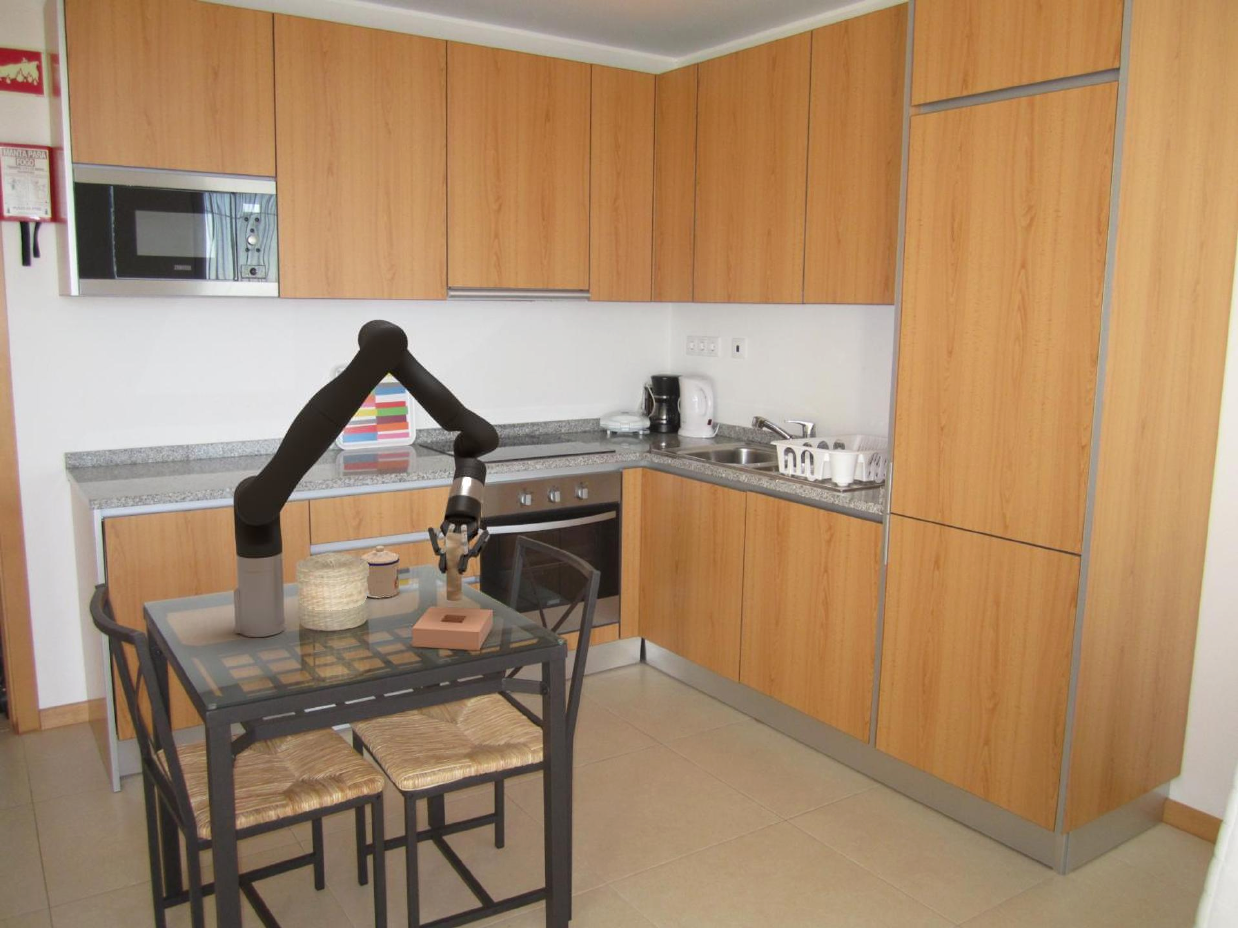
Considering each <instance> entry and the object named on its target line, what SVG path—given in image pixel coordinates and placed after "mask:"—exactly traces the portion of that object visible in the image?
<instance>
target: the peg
mask: <svg viewBox="0 0 1238 928" xmlns="http://www.w3.org/2000/svg"><path fill="white" fill-rule="evenodd" d="M461 555H462V536H461V534H459V533H449V534H446V573H445V575H446V577H445V578H446V581H445V582H446V591H445V592H446V593H445V595H446V600H447V601H451V602H458V601H461V600H462V598H463V597H462V596H463V595H462V593H463V592H462V591H463V589H462V587H463V585H462V584H463V582H462V579H463V578H462V576H463V575H459V572H458V567H459V562H460V556H461Z"/></svg>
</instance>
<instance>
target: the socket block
mask: <svg viewBox="0 0 1238 928" xmlns="http://www.w3.org/2000/svg"><path fill="white" fill-rule="evenodd" d="M493 613H494V610H493V609H481V608H480V609H479V608H466V607H465V608H461V607H448V606H446V607H445V606H429V607H428V609H427V610H426V611H425V612H424V613H423V615H422V616H421V617H420V618H419V619H418V621H417V622H416V623H415V625H414V626H413V627H412V628H411V629H412V631H411V632H412V636H411V637H412V647H414V648H415V647H417V648H432V649H434V648H435V649H448V650H449V649H450V650H451V649H452V650H464V651H465V650H468V651H480V649H481V647H482V646H483V644H484V643H485V640H486V639H487V638H488V636H489V634H490V633H491V631H492V629H493V623H494V622H493V618H494V617H493V615H494V614H493Z"/></svg>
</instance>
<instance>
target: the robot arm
mask: <svg viewBox="0 0 1238 928" xmlns="http://www.w3.org/2000/svg"><path fill="white" fill-rule="evenodd" d="M408 339H409V338H408V336H407V334H406V332H405V331H404V329H403V328H401V327H400V325H399V326H398V325H397V324H395V323H393V322H390V321H388V320H384V319H372V320H370V321H368V322H366V323H365V324H363V325H362V327H361V328H360V329H359V332H358V336H357V344H358V347H359V349H358V351H357V352H356V354H355V355H354V356H353V358H352V359H351V361H350V363H349V364H348V365H347V366H346V367H345V368H344V369H343V371H341V372H340V373H339V374H338V375H337V376H336V377H334V378H333V379H331V380H330V381H329V382H327V384H325V385H324V386H322V387H321V388H320V389H319V390H318V391H316V393H314V395H313V396H312V397H311V398H310V399H309V400H308V401H307V402H306V404H305V405H304V406H303V407H302V409H301V410H299V412H298V414H297V415H296V417H295V418H294V419H293V421H292V422H291V424H290V426H289V428H288V430H287V431H286V433H285V435H284V437H283V438H282V441H281V442H280V445H279V446H278V449H277V450H276V452H275V453H274V455H273V456H272V458H271V459H270V461H269V462H268V463H267V464H266V465H265V467H264V468H262V470H260V472H259V473H258V474H257V475H251V476H248V477H246V478H244V479H243V480H241V481H240V482H239V483H237V486H236V487H235V490H234V492H233V500H232V501H233V521H234V522H233V523H234V539H235V540H234V541H235V553H236V555H235V556H236V574H237V578H236V579H237V587H236V588H235V589H234V590H233V605H234V630H235V634H240V635H242V636H244V637H250V638H262V637H264V638H265V637H270V636H274V635H277V634H280V633H282V632H284V630H285V628H286V627H285V626H286V625H285V622H286V621H285V620H286V619H285V597H284V596H285V594H284V593H285V589H284V565H283V564H284V562H283V559H284V558H283V538H282V537H283V536H282V529H281V528H282V527H281V512H282V510H283V508H284V507H285V505H286V504H287V502H288V500H289V498H290V497H291V495H292V493H294V491H295V490H296V487H298V484H299V483H300V482H301V480H302V479H303V478H304V477H305V475H306V474H307V473H308V472H309V471H310V470H311V469H312V468H313V467H314V466H315V464H316V463H317V462H318V461H319V460H320V459H321V458H322V456H323V455H324V454H325V452H327V450H328V449H329V448H330V447H331V446H332V445H333V444H334V443H335V441H336V440H337V439H338V438H339V436H340V435H341V434H342V432H343V431H344V429H346V427H347V425H348V424H349V423H350V421H351V420H352V419H353V418H354V417H355V415H356V413H358V412H359V410H360V409H361V407H362V406H363V404H364V403H365V401H366V400H367V399H368V397H369V396H370V395H371V393H372V392H373V390H374V389H375V388H377V386H378V385H379V384H380V383H381V382H382V381H383V380H384V379H385V378H386V377H387V376H388V375H391V377H393V378H394V379H395V380H396V381H397V382H399V384H401V386H403V388H404V389H406V391H407V392H408V393H409V394H410V395H411V396H412V397H413V399H414V400H415V401H416V402H417V403H418V404H419V406H421V408H423V409H424V411H426V413H427V414H428V415H429V416H430V418H432V419H433V420H434V421H435V423H437V425H439V427H440V428H441V429H443V431H446V432H450V433H451V432H452V433H453V432H458V434H457V435H456V436H455V439H454V440H453V444H452V445H453V446H452V447H453V457H454V467H455V468H454V469H455V470H454V474H453V479H452V482H451V483H452V484H451V487H450V489H449V492H448V496H447V497H448V498H447V501H446V502H447V503H446V508H445V512H444V518H443V521H442V522H441V524H440V526H439V527H435V528H434V527H431V526H430V527H428V528H427V532H428V535H429V540H430V544H431V546H432V550H433V552H434V554H435V556H437V557H439V560H438V564H437V565H438V569H439V571H440V573H441V574H445V575H446V534H449V533H459V534H461V536H462V555H461V556H460V562H459V567H458V572H459V575H462V576H463V575H464V573H466V572H467V569H468V565H469V560H470V559H472V558H473V559H474V558H475V559H476V558H478V557H479V556H480V554H481V552H482V551H483V550H484V548H485V547H486V545H487V544H488V542H489V541H490V539H491V537H490V532H489V530H487V529H484V530H483V529H481V528H480V526H479V524H480V518H481V513H482V508H483V507H482V506H483V504H484V494H485V493H484V492H485V491H484V490H485V489H484V488H485V484H486V478H487V466H486V463H485V462H484V461H482V460H480V459H479V458H481V457H483V456H485V455H488V454H491V453H493V452H494V451H496V449H498V447H499V445H500V437H499V436H500V435H499V433H498V431H497V430H496V428H495V427H494V426H493V424H491V423H490V421H487V420H486V419H485V418H483V417H482V416H480V415H479V414H477V413H475V412H474V411H472V410H470V408H467V407H465V405H464V404H463V403H462V402H461V401H460V400H459V399H458V398H457V396H455V394H454V393H453V392H452V390H451V391H450V389H449V388H448V387H447V386H446V385H445V384H443V383H442V382H441V381H440V380H439V379H438V378H437V377H436V376H435V375H433V374H432V373H431V372H430V371H428V370H427V368H425V367H424V366H423V365H422V364H421V363H420V362H419V361H418V360H417V359H416V357H415V356H414V355H413V354H412V352H411V351H410V350H409V349H408V346H409V340H408ZM441 533H442V535H443V537H444V539H443V544H442V545H441V547H440V546H439V543H438V539H439V538H440V537H441V536H440V535H441ZM476 537H477V539H476V541H475V543H474V544H473V546H472V547H471V544H470V543H471V541H472V540H474V539H475V538H476Z"/></svg>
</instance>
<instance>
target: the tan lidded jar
mask: <svg viewBox="0 0 1238 928" xmlns="http://www.w3.org/2000/svg"><path fill="white" fill-rule="evenodd" d="M361 558H362V559H364V560H365V561H367V563H368V564H369V570H370V571H369V576H368V580H367V581H368V589H369V594H370V595H371V596H378V597H383V596H384V597H387V596H392V597H395V596H396V595H398V594H399V590H400V587H399V586H400V585H399V578H400V577H399V561H400V557H399V555H398V554H397V553H394V552H390V551H389V550H386V549H385V547H384V546H383V545H378V546H375V549H374V550H372V551H370V552H368V553H365V554H363V555H362V556H361ZM361 558H360V559H361ZM394 595H395V596H394Z"/></svg>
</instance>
